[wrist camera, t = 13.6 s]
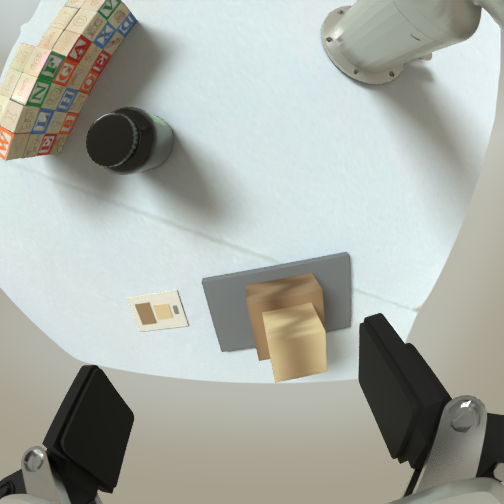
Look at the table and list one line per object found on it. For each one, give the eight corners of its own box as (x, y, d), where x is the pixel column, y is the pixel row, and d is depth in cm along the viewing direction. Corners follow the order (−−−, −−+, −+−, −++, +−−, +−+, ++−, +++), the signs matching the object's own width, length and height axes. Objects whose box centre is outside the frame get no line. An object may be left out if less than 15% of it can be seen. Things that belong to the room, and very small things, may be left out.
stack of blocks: (106, 11, 24) (68, -25, 12) (138, 20, 25) (105, -21, 14) (34, 139, 29) (-22, 143, 18) (61, 155, 31) (4, 162, 19)
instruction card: (176, 289, 38) (176, 290, 38) (188, 324, 40) (188, 326, 40) (126, 297, 38) (126, 298, 38) (140, 330, 40) (139, 331, 40)
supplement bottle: (167, 108, 30) (136, 88, 19) (180, 159, 33) (154, 163, 21) (118, 127, 30) (70, 120, 19) (131, 176, 33) (86, 189, 21)
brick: (311, 272, 37) (322, 289, 33) (316, 326, 40) (325, 347, 36) (245, 285, 37) (247, 304, 33) (256, 338, 40) (259, 360, 36)
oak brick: (311, 302, 33) (325, 331, 27) (314, 340, 35) (326, 371, 30) (262, 312, 33) (267, 343, 27) (269, 350, 35) (275, 382, 30)
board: (346, 251, 38) (349, 254, 37) (347, 322, 42) (350, 326, 41) (202, 278, 38) (201, 282, 37) (221, 347, 42) (221, 352, 41)
